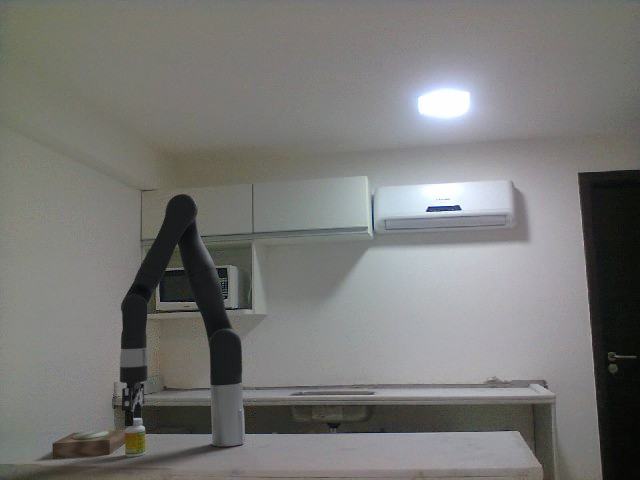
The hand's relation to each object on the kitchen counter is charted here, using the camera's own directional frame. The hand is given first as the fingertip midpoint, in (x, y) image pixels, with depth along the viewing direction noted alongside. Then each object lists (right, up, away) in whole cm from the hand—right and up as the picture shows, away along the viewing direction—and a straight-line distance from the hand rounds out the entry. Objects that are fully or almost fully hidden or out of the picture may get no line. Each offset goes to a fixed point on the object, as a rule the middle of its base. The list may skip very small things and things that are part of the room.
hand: (133, 423), depth 171 cm
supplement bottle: (+1, -9, -1) cm, 9 cm away
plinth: (-15, -11, +9) cm, 21 cm away
